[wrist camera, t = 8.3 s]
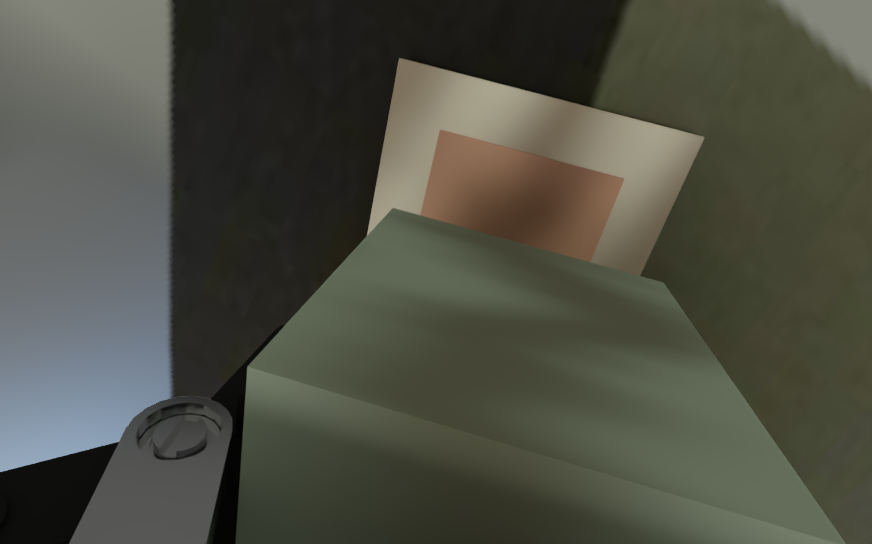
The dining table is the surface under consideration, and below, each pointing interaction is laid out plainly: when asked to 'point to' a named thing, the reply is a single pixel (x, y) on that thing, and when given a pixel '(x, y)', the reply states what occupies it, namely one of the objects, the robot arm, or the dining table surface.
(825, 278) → the dining table surface
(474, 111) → the board
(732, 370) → the dining table surface
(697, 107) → the dining table surface
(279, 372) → the sage block
